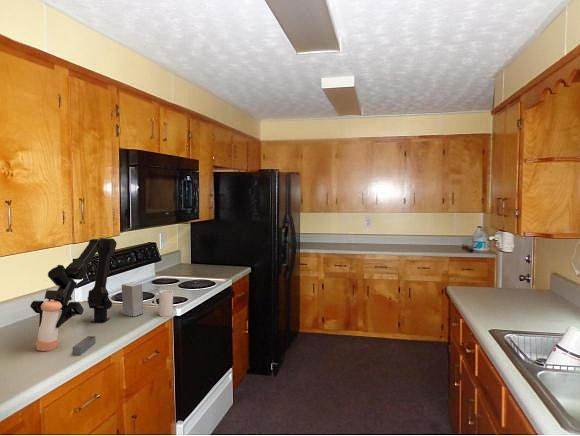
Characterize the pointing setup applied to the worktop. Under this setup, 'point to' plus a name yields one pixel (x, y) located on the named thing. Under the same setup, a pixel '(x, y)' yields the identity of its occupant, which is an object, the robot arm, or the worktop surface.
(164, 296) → the mug
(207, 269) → the worktop surface
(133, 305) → the skincare box
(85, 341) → the steel bar
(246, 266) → the worktop surface
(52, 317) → the salt shaker
